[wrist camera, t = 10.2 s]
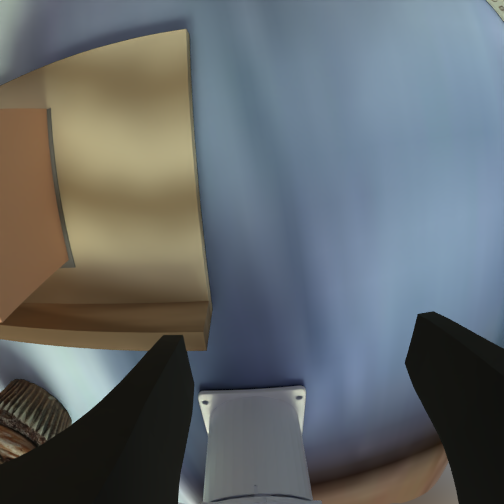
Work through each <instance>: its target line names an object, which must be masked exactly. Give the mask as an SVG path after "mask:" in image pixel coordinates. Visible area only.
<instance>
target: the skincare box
mask: <svg viewBox="0 0 504 504" xmlns="http://www.w3.org/2000/svg"><path fill="white" fill-rule="evenodd" d="M486 1H487V2H488V3H489V4H490V5H491V6H492V7H493V8H494V9H495V11H496V12H497V13H498V14H499V16H500V17H501V18H502V20H503V21H504V0H486Z"/></svg>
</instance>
